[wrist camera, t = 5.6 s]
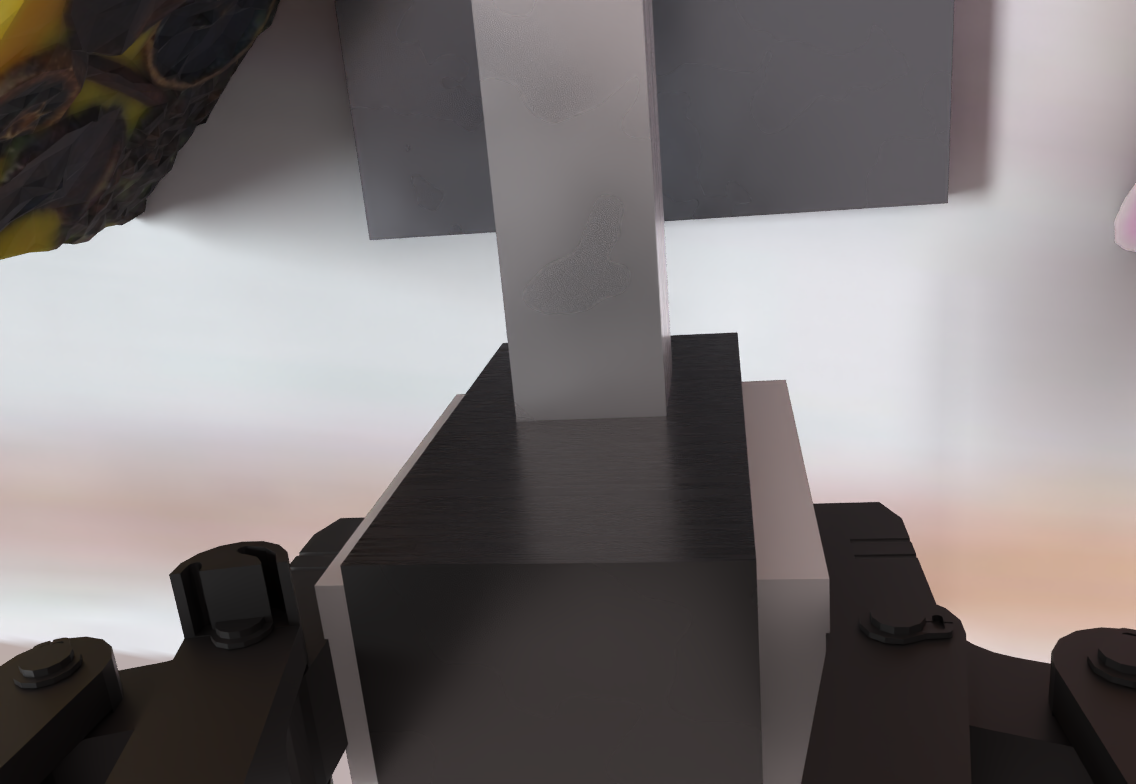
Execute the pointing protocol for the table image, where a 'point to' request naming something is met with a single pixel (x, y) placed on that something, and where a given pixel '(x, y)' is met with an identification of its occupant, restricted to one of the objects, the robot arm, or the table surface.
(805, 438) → the table surface
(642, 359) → the shaft
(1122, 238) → the lily
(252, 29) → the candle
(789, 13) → the shaft stand
